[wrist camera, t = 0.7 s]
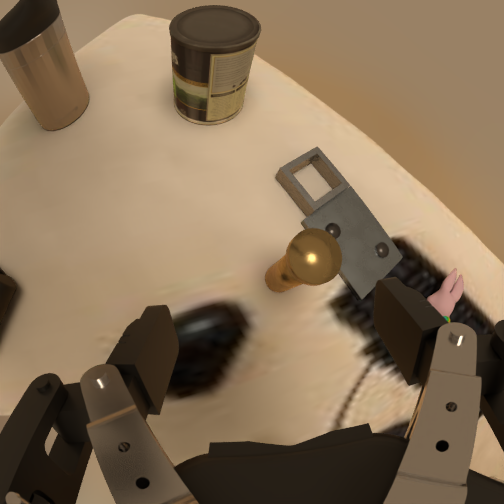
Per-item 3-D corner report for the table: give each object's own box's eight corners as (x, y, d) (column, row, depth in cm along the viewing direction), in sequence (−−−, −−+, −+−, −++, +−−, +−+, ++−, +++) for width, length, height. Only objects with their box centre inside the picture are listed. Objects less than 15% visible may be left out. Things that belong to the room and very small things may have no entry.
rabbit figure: (411, 365, 35) (462, 285, 37) (434, 374, 29) (487, 284, 31) (386, 341, 36) (441, 259, 37) (409, 349, 30) (466, 254, 31)
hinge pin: (252, 274, 34) (277, 248, 22) (281, 252, 35) (319, 218, 23) (275, 305, 33) (313, 295, 22) (304, 282, 34) (351, 261, 23)
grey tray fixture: (267, 182, 37) (272, 172, 34) (317, 152, 39) (323, 143, 36) (357, 300, 35) (367, 298, 32) (398, 258, 37) (409, 254, 35)
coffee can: (169, 125, 36) (160, 46, 23) (179, 76, 39) (177, 4, 25) (243, 128, 38) (262, 51, 24) (244, 79, 40) (260, 8, 27)
